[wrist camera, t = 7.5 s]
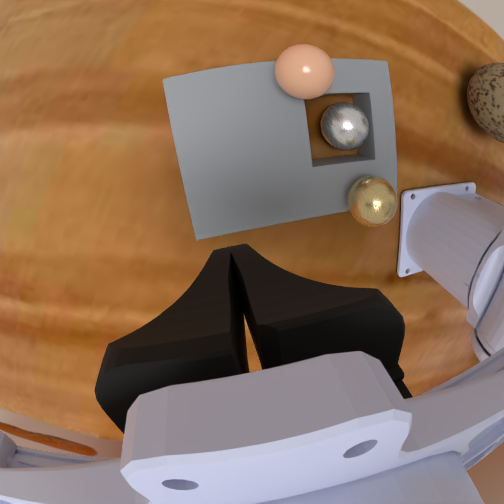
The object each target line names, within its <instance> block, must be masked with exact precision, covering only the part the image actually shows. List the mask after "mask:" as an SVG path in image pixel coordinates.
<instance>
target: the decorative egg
mask: <svg viewBox="0 0 504 504" xmlns="http://www.w3.org/2000/svg"><path fill="white" fill-rule="evenodd" d="M467 101H468V105H469V109H470V111H471V114H472V116H473V118H474V119H475V121H476V122H477V124H478V125H479V126H480V127H481V129H482V130H483V131H485V132H486V133H487V134H488V135H489V136H491V137H492V138H494V139H496V140H498V141H500V142H502V143H504V63H491V64H488V65H485V66H483V67H481V68H479V69H478V70H477V71H476V72H475V73H474V74H473V76H472V77H471V79H470V81H469V84H468V89H467Z"/></svg>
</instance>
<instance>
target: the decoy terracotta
mask: <svg viewBox="0 0 504 504" xmlns="http://www.w3.org/2000/svg"><path fill="white" fill-rule="evenodd" d="M274 72H275V78H276V80H277V83H278V84H279V86H280V87H281V88H282V89H283V90H284V91H285V92H286V93H287V94H289V95H291V96H293V97H295V98H298V99H314V98H317V97H320V96H322V95H323V94H325V93H326V92H327V91H328V90H329V89H330V87H331V86H332V84H333V81H334V77H335V69H334V65H333V62H332V60H331V59H330V57H329V56H328V55H327V54H326V53H325V52H324V51H323V50H321V49H320V48H318V47H316V46H313V45H309V44H297V45H293V46H291V47H289V48H287V49H285V50H284V51H283V52H282V53H281V54H280V55H279V57H278V58H277V60H276V63H275V69H274Z"/></svg>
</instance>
